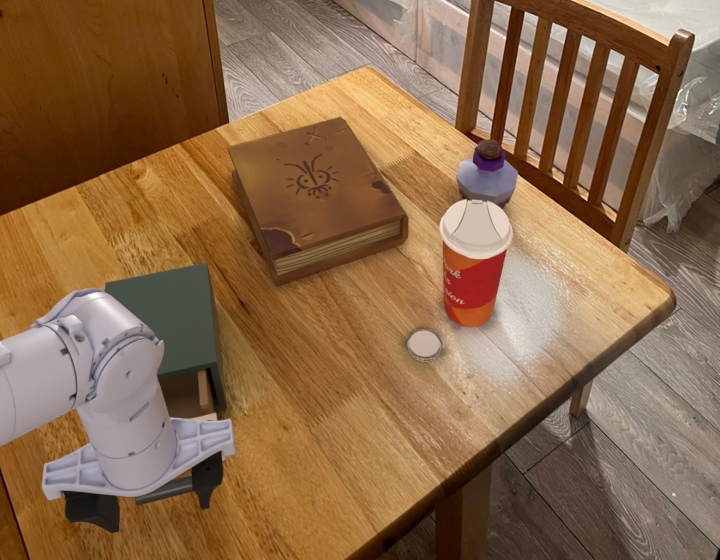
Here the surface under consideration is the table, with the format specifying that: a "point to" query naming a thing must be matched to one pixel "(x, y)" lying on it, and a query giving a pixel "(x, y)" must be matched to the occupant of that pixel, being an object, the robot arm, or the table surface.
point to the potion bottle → (487, 175)
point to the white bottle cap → (424, 345)
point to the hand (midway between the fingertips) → (160, 508)
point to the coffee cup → (473, 259)
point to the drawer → (184, 401)
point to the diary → (315, 199)
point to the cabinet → (178, 320)
